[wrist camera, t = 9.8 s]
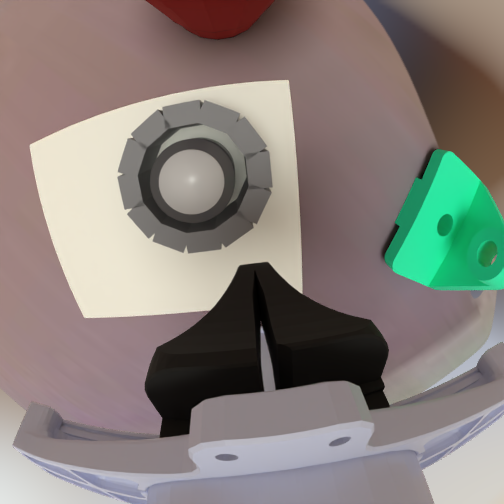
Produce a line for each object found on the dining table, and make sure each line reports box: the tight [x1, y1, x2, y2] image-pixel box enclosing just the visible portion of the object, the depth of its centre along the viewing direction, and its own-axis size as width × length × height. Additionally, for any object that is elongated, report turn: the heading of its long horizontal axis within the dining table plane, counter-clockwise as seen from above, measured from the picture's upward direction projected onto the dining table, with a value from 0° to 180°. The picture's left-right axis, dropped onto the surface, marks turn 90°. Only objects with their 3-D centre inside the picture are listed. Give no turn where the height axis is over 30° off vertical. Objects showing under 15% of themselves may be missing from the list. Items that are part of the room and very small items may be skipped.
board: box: [30, 80, 302, 318], centre depth 19 cm, size 18×22×4 cm
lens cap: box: [150, 137, 235, 223], centre depth 17 cm, size 5×5×4 cm
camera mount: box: [385, 149, 504, 290], centre depth 17 cm, size 12×8×10 cm, turn 158°
